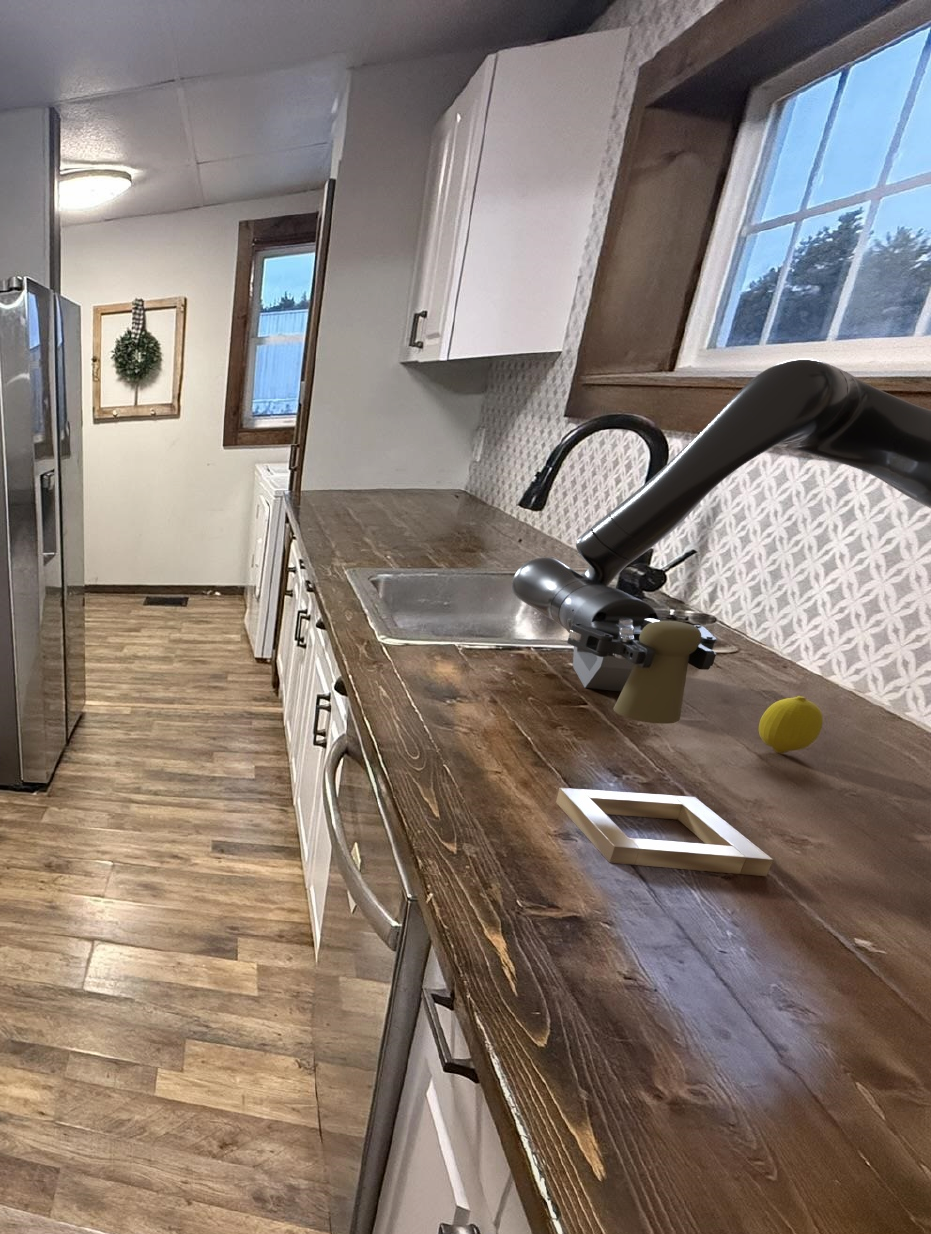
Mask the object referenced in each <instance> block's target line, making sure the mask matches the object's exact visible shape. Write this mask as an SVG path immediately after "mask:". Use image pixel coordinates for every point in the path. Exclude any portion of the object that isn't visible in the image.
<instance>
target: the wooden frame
mask: <svg viewBox="0 0 931 1234" xmlns="http://www.w3.org/2000/svg"><path fill="white" fill-rule="evenodd" d="M555 804H556V805H557V806H559V807H560V809H561V810H562V811H563V812H564V813H565V815H567V817H568V818H569V819H570V820H571V821H572V822H573V824H574V825H575V826H576V827H577V828H578V829H579V830H580V831H581V832H582V834H583V835H584V836H585V837H586V838H587V839H588V840H589V842H590V843H591V844H592V845H593V846H594V847H595V848H596V849H597V850H598V851H599V853H600V854H601V855H602V856H603V858H605V859H606V860H607V862H608V863H610V864H621V865H629V866H630V865H634V866H641V867H642V866H644V867H654V868H665V869H666V868H667V869H678V870H692V871H700V872H701V871H702V872H712V873H723V874H735V875H745V876H758V877H767V876H768V874H769V871H770V869H771V866H772V864H773V861H774V859H773V858H772V857H770V855H768V854H767V853H766V852H764V851H763V850H762V849H760V847H758V846H757V845H756V844H754V843H753V842H752V841H750V840H749V839H748V838H747V837H746V836H744V835H743V834H742V833H741V832H740V831H738V830H737V829H736V828H735V827H733V826H732V825H731V824H729V823H728V822H727V821H726V820H724V819H723V818H722V817H721V816H719V815H718V814H717V813H715V812H714V811H713V810H712V809H711V808H709V807H708V806H707V805H706V804H705V803H703V802H702V801H701V800H699V799H698V798H697V797H696V796H687V795H686V796H685V795H672V794H661V793H660V794H658V793H646V792H645V793H644V792H628V791H616V790H615V791H613V790H601V789H600V790H599V789H585V788H569V787H559V790H558V792H557V797H556V801H555ZM608 815H613V816H623V817H624V816H625V817H639V818H653V819H665V820H678V821H679V822H680V823H681V824H682V825H683V826H685V828H687V829H688V831H690V832H691V833H692V834H694V835H695V836H696V837H697V838H698V839H699V840H701V841H702V842H703V843H699V842H686V841H685V842H684V841H675V840H674V841H673V840H660V839H650V838H649V839H648V838H637V837H636V838H635V837H629V836H628V835H627V834H626V833H625V832H624V831H623V829H621V828H620V827H619V826H618V825H617V824H616V823H615V822H614V821H613V820H612V819H611V818H610V817H609V816H608Z"/></svg>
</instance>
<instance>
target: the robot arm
mask: <svg viewBox="0 0 931 1234" xmlns="http://www.w3.org/2000/svg"><path fill="white" fill-rule="evenodd" d="M774 447H775V448H779V449H785V450H790V451H796V452H799V453H803V454H804V453H805V454H807V455H810V456H815V457H819V458H822V459H825V460H829V461H832V462H835V463H839V464H842V465H845V466H849V467H852V468H854V469H857V470H860V471H862V472H865V473H867V474H870V475H871V476H873V477H875V478H876V479H879V480H881V481H882V482H883V483H885V484H886V485H889V486H890V487H892V488H893V489H894V490H896V491H898V492H900V493H901V494H903V495H904V496H906V497H908V498H910V499H912V500H914V501H916V502H917V503H919V504H921V505H923V506H924V507H927V508H929V509H931V409H929V408H926V407H923V406H920V405H917V404H914V403H912V402H909V401H907V400H904V399H903V398H900V397H897V396H895V395H893V394H891V393H888V392H886V391H884V390H881V389H880V388H877V387H875V386H873V385H870V384H868V383H866V382H864V381H863V380H861V379H859V378H857V377H856V376H854V375H853V374H851V373H849V372H847V371H845V370H843V369H841V368H839V367H836V366H834V365H832V364H830V363H828V362H825V361H821V360H818V359H813V358H798V359H797V358H796V359H790V360H786V361H783V362H780V363H776V364H774V365H773V366H770V367H768V368H766V369H765V370H763V371H761V372H760V373H758V374H757V375H756V376H755V377H753V378H752V379H750V381H749V382H748V383H747V384H745V385H744V386H743V387H742V388H741V389H740V390H739V391H738V392H737V393H736V394H735V395H734V396H733V397H732V398H731V399H730V400H729V401H728V402H727V403H726V404H725V406H724V407H723V408H721V410H720V411H719V412H718V413H717V414H716V415H715V416H714V417H713V418H712V420H710V422H708V424H706V426H704V428H703V429H702V430H701V431H700V432H699V433H697V434H696V436H695V437H693V438H692V439H691V441H689V443H687V444H686V445H685V447H683V448H682V449H681V450H680V451H679V452H678V453H677V454H676V455H675V456H674V457H673V458H672V459H671V460H670V461H669V462H667V464H666V465H664V466H663V467H662V468H661V469H660V470H659V471H658V472H657V473H656V474H654V475H653V476H652V477H651V478H650V479H649V480H648V481H647V482H645V484H643V485H641V486H640V487H639V488H638V489H637V490H636V491H635V492H634V493H632V494H631V495H630V496H628V497H627V498H626V499H624V500H623V501H622V502H621V503H620V504H619V505H617V506H616V507H615V508H614V509H612V510H611V511H610V512H609V513H607V514H606V515H605V516H603V517H602V518H601V519H600V520H598V521H597V522H596V523H594V524H593V526H591V527H590V528H589V529H588V530H586V531H584V532H583V533H582V534H581V535H580V536H579V537H578V538H577V540H576V542H575V548H576V551H577V553H578V554H579V555H580V556H581V558H582V559H583V561H585V562H586V563H587V564H588V565H589V566H588V568H587V569H586V570H585V571H584V572H582V573H579V572H577V571H576V570H574V569H573V568H571V567H570V566H569V565H566V564H565V563H563V562H562V561H559V560H558V559H556V558H554V557H550V556H543V557H537V558H533V559H531V560H528V561H527V562H525V563H524V564H523V565H521V566H520V567H519V568H518V569H517V571H516V572H515V574H514V575H513V578H512V581H511V590H512V593H513V595H514V596H515V597H516V598H517V599H519V600H520V601H521V602H523V603H524V604H526V605H527V606H529V607H531V608H533V609H534V610H536V611H537V612H539V613H541V614H542V615H544V616H545V617H546V618H549V619H550V620H553V621H554V622H555V623H556V624H557V625H559V626H560V627H562V629H564V630H566V631H567V632H568V633H569V634H568V638H567V644H569V645H571V646H573V647H574V646H575V647H578V648H580V649H582V650H585V651H587V652H590V653H592V654H594V655H597V656H599V657H607V656H615V657H617V658H619V659H627V660H629V661H630V662H632V663H634V664H636V665H637V666H639V667H641V668H649V667H650V666H651V663H652V660H653V657H654V653H655V651H654V649H652V648H651V647H649V646H647V645H645V644H643V643H641V642H640V641H639V637H640V633H641V631H642V630H643V628H644V627H645V626H646V625H648V624H649V623H652V622H655V621H660V619H659V616H658V614H657V612H656V610H655V609H654V607H652V606H651V605H650V604H649V603H648V602H646V601H644V600H642V599H640V598H638V597H635V596H633V595H631V594H630V593H627V592H624V591H623V590H621V589H619V588H616V587H612V586H610V585H611V583H613V581H614V580H615V579H616V577H618V575H619V574H620V573H621V572H622V571H623V570H624V569H625V568H626V567H627V566H628V565H630V564H632V563H633V562H635V560H637V559H638V558H640V557H641V556H642V555H644V554H645V553H647V552H648V551H650V549H652V548H653V547H654V546H656V545H657V544H658V543H660V542H661V541H662V540H664V539H665V538H666V537H667V536H669V535H670V534H671V533H672V532H674V530H675V529H676V528H677V527H679V526H680V525H681V524H682V523H683V522H684V521H685V520H686V519H687V518H688V516H689V515H690V514H692V512H693V511H694V510H695V509H696V507H698V505H699V504H700V503H701V502H702V501H703V499H705V498H706V497H707V496H708V495H709V494H710V493H711V491H712V490H713V489H715V488H716V487H717V486H718V485H719V484H720V483H721V482H723V481H724V480H725V479H726V478H728V477H729V476H730V475H731V474H733V473H734V472H736V471H737V470H738V469H739V468H741V467H742V466H744V465H746V464H747V463H749V462H750V461H751V460H752V461H753V459H755V458H756V457H758V456H760V455H761V454H763V453H765V452H766V451H769V450H770V449H771V448H774ZM694 626H695V627H697V628H698V629H699V630H700V632H701V641H700V644H699V646H698V647H697V649H696V650H695V651H694V652H693V653H691V654H690V655H689V660H688V665H690V666H692V667H694V668H695V669H697V670H703V671H708V670H710V669H711V667H713V665H714V662H715V660H716V657H717V652H716V651H714V650H713V649H714V646H715V644H716V642H717V638H716V636H715V635H713V633H711V632H710V631H709V630H708V629H707V628H706V627H705V626H703V625H699V624H696V625H694Z"/></svg>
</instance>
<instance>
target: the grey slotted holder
mask: <svg viewBox="0 0 931 1234" xmlns="http://www.w3.org/2000/svg"><path fill="white" fill-rule="evenodd" d="M634 665H635V664H634V663H632V662H630V661H629V660H627V659H619V658H617V657H615V656H607V657H599V656H597V655H594V654H592V653H590V652H587V651H585V650H582V649H580V648H578V647H575V646H573V657H572V668H573V670H574V671H575V673H576V675H577V677H578V678H579V680H580V682H581V684H582V686H583V687H584V688H585V689H593V690H604V691H614V692H622V690H623V688H624V686H625V684H626V681H627V679H628V677H629V675H630V673H631V671H632V669H633V667H634Z"/></svg>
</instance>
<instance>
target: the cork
mask: <svg viewBox="0 0 931 1234" xmlns="http://www.w3.org/2000/svg"><path fill="white" fill-rule="evenodd" d="M695 626H696V625H693V624H690V623H687V622H683V621H675V620H659V621H655V622H652V623H649V624H648V625H646V626H645V627H644V628H643V630H642V631H641V633H640V637H639V641H640V642H641V643H643V644H645V645H647V646H649V647H651V648H652V649H654V651H655V653H654V657H653V660H652V663H651V666H650V667H649V668H641V667H639V666H637V665H636V664H635V665H634V667H633V669H632V671H631V673H630V675H629V677H628V679H627V681H626V684H625V686H624V688H623V690H622V691H620V694H619V696H618V698H617V700H616V702H615V704H614V705H613V708H612V710H613V711H614V712H615V713H616V714H618V715H620V716H621V717H624V718H627V719H631V720H634V721H638V722H643V723H650V724H659V725H660V724H662V725H663V724H664V725H665V724H667V725H668V724H675V723H677V722H679V721H680V720H681V715H682V707H683V700H684V694H685V687H686V681H687V673H688V666H689V663H688V660H689V655H690V654H691V653H693V652H694V651H695V650H696V649H697V647H698V646H699V644H700V641H701V632H700V630H699V629H698V628H697V627H695Z"/></svg>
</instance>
